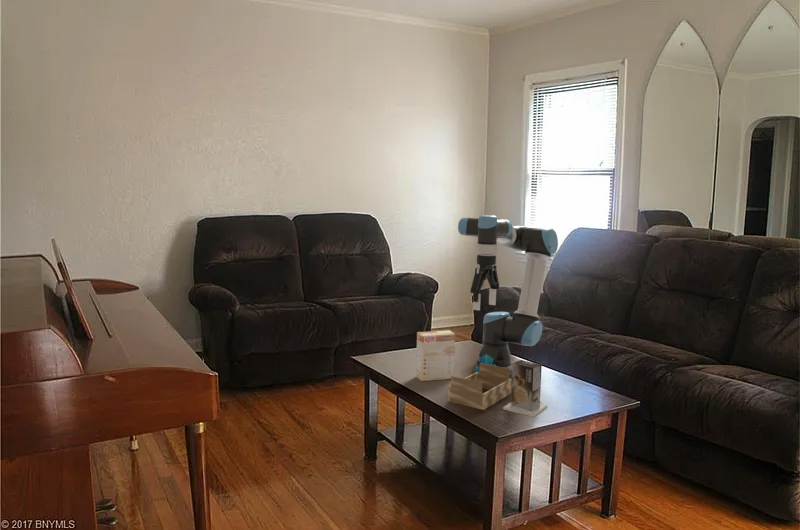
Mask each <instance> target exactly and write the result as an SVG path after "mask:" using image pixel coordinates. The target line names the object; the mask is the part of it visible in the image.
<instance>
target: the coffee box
mask: <svg viewBox="0 0 800 530" xmlns="http://www.w3.org/2000/svg"><path fill="white" fill-rule="evenodd" d="M511 371H512V372H511V375H512V376H511V398H510V399H511V400H510V402H511V405H513V406H517V407H521V408H524V409H528V410H531V411H532V410H534V409H536V408H538V407H540V403H541V391H542V389H541V385H542V364H541V363H540V364H539V363H536V362H531V361H526V360H523V359H520V360H517V361H514V362H513V363H512V370H511Z"/></svg>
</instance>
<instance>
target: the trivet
mask: <svg viewBox="0 0 800 530" xmlns="http://www.w3.org/2000/svg"><path fill="white" fill-rule="evenodd" d="M547 408H548V404H545V403H544V404H543V403H541V402H540V407H538V408H536V409H534V410H532V411H531V410H528V409H524V408H521V407H517V406H513V405H511V401H510V402H509V403H507V404H505V405H504V406H503V409H502V410H504V411H506V412H507V411H509V412H513V413H516V414H521V415H525V416H527V417H528V416H530V417H533V418H535V417H536V416H537V415H539V414H541V413H542V412H543V411H544V410H546V409H547Z"/></svg>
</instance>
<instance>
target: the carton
mask: <svg viewBox="0 0 800 530" xmlns="http://www.w3.org/2000/svg"><path fill="white" fill-rule="evenodd" d="M483 389H485V390H487V391H485V392H484V393H483ZM509 395H512V378H510V368H508V367H507V368H506V367H505V366H494V365H489V364H484V363H480V362H479V372H476V371H475V372H474V373H472V374H471V375H468V376H466V377H464V378H463V377H457V376H455V375H454V376H451V379H450V384H449V385H448V397H447V400H448V402H450V403H453V404H458V405H461V406H467V407H470V408H474V409H479V410H482V411H485V410H486V409H488V408H489V407H491V406H493V405H495V404H496V403H498V402H499V401H501V400H502V399H504V398H506V397H507V396H509Z"/></svg>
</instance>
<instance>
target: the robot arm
mask: <svg viewBox="0 0 800 530" xmlns="http://www.w3.org/2000/svg"><path fill="white" fill-rule="evenodd" d="M457 229H458V230H457V231H458V233H459V234H460V235H461V236H465V237H467V236H468V237H475V238H477V245H476V250H477V255H476V264H477V265H479V267H475V270H474V277H473V280H472V282H471V287H470V293H471V294H473V297H472V299H473V300H472V301H473V302H472V310H473V311H481V293H480V292H481V289H482V287H483V285H484V282H485V281H486V280H487V282H488V284H489V287H490V288H489V289H488V292H489V293H488V305H490V306H497V305H496V303H497V290H499V289H500V282H499V277H498V273H497V272H498V271H497V265H496V264H497V256H496V255H497V243H499V244H500V245H501V246H503V247H507V248H510V249H513V250H517V251H519V252H520V251H521V252H524V255H525V257H526V264H525V268H524V269H525V270H524V275H523V279H522V286H521V289H520V290H521V291H520V296H519V301H518V306H517V310H515V311H514V312H513V314H512V316H511V314H510V312H507V311H494V312H493V311H492V312H488V313H485V315H484V316H483V322H482V324H483V326H482V328H483V329H482V345H481V349H480V351H479V353H478V357H477V358H478V359H477V361H478V363H480V360H479V358H480V357H482V356H484V355H486V354H487V355H488V356H490V357H491V358H493V363H492V365H494V364H495V366H499V367H505V366H509V365H511V364H512V356H511V352H510V348H509V343H510V344H516V345H520V346H521V345H522V346H524V347H525V346H527V347H528V346H529V347H533V346H536V345H537V344H538V342H539V341H540V339H541V337H542V334H543V323H542V321H541V320H540V318H541V317H540V316H539V315H538V308H539V302H540V300H541V299H540V298H541V292H542V286H543V282H544V277H545V270H546V265H547V261H549V260H550V259H551V256H552V255H555V254H556V252H557V250H558V248H559V247H558V246H559V240H558V235H557V232H556V231H555V229H553V228H551V227H545V226H530V225H529V226H527V225H513V224H512V223H511V221H510V220H508V219H505V218H504V219H502V218H501V219H499V218H498V217H497V216H496V215H487V214H486V215H485V214H484V215H480V216H479V217H478V218H477V217H476V218H475V217H461V218H460V219H459V221H458V224H457Z"/></svg>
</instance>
